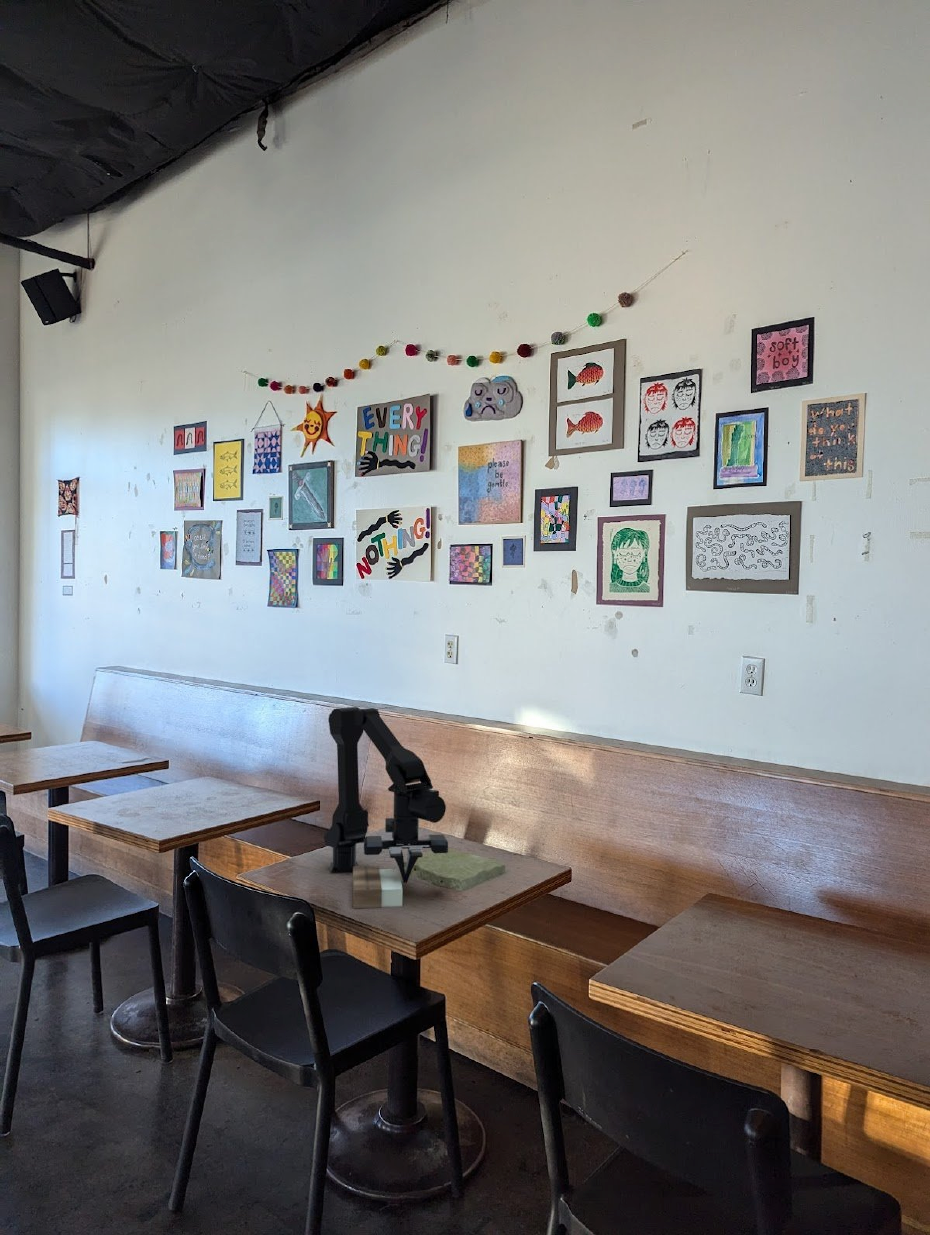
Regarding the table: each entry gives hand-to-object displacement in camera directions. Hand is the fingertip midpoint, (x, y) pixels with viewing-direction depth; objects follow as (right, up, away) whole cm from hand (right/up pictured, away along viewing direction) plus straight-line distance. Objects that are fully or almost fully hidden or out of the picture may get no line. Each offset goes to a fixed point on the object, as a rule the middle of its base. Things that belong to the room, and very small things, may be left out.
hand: (405, 882), depth 194 cm
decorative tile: (+10, -3, +16) cm, 19 cm away
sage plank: (-3, -3, -1) cm, 5 cm away
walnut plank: (-9, -3, -1) cm, 9 cm away
